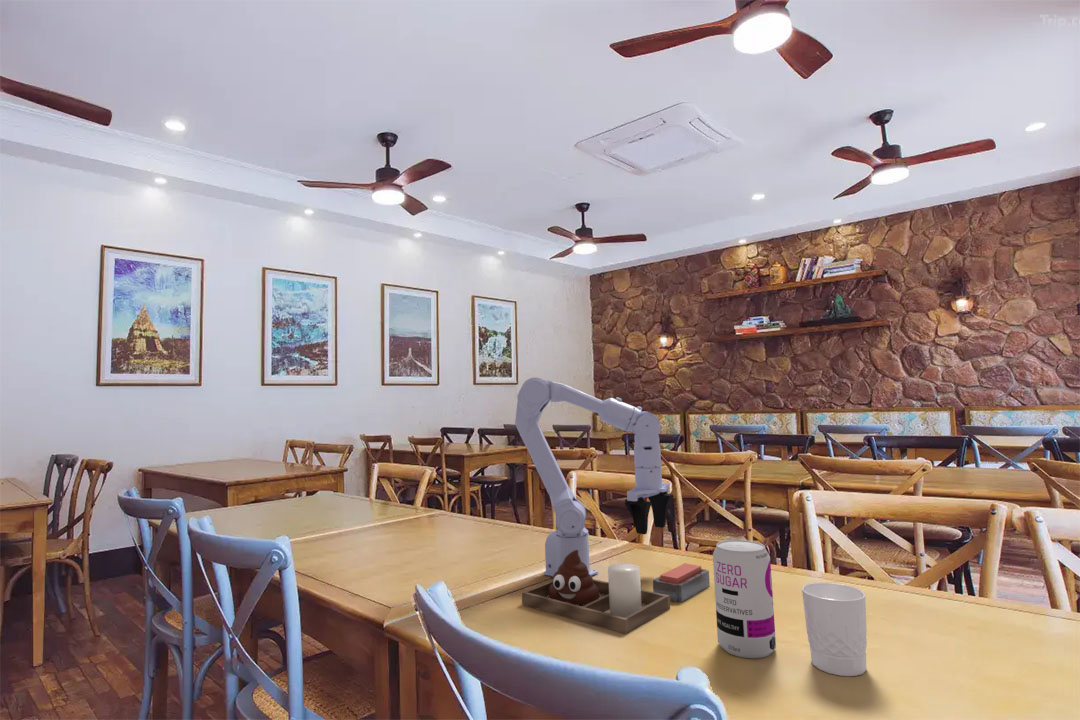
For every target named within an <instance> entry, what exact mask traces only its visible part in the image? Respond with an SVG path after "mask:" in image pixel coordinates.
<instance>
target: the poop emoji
mask: <svg viewBox="0 0 1080 720" xmlns="http://www.w3.org/2000/svg"><path fill="white" fill-rule="evenodd" d="M593 579H594V578H593V575H592V576H591V575H590V574H589V571H588V569H587V566H586V565H585V564H584V563H583V562H581V559H580V557H579V555H578V550H575V551H573V552H571V553H570V554H568V555H567V556H566V557H565V559H564V561H563V563H562V564H561V565H560V566H559V568H558V571H557V572H555V574H554V575H553V577H552V580H551V581H552V582H553V584H551V586H550V587H549V590H548V595H549V596H548V598H551V599H555V600H559V601H562V602H566V603H570V604H574V605H578V606H584V605H586V604H588V603H590V602H593V601H595V600H597V599H599V598H600V594H601V593H599V589H598V587H597V586H596V585H595V584H594V583H593Z"/></svg>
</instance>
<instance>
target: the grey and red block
mask: <svg viewBox="0 0 1080 720" xmlns="http://www.w3.org/2000/svg"><path fill="white" fill-rule="evenodd" d="M701 571H702V572H700V573H699V574H697V575H695V576H693V577H691V578H689V579H687V580H685V581H683V582H682V583H680V584H675V583H670V582H665V581H660V576H658V577H655V578H654V579H652V588H653V589H652V590H653V591H652V592H655V593H660V594H664V595H669V596H670V602H676V603H678V602H680V603H683V602H685V601H686V600H688V599H690V598H692V597H694V596H696V595H697V594H698V593H700V592H702V591H704V590H706V589H707V588H709V587H710V586H711V585H710V584H711V583H710V571H709V570H707V569H704V568H701Z"/></svg>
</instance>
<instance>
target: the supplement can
mask: <svg viewBox="0 0 1080 720" xmlns="http://www.w3.org/2000/svg"><path fill="white" fill-rule="evenodd" d="M712 564H713V579H714V580H713V581H714V597H715V600H714V601H715V613H716V614H715V615H716V630H717V631H716V633H717V643H718V644H719V646H720V647H721V648H722V649H723V650H724V651H725V652H726V653H728V654H730V655H733V656H735V657H738V658H745V659H763V658H766V657H769V656H771V654H772V653H773V652H774V651H775V650H776V649H777V642H776V641H777V640H776V624H775V609H774V595H773V579H772V566H771V565H772V564H771V556H770V554H769V552H768V551H767V549H766V545H765V544H763V543H761V542H758V541H751V540H747V541H745V540H727V541H724V540H721V541H719V542H717V543H716V547H715V548H714V551H713V553H712Z"/></svg>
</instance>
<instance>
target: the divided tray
mask: <svg viewBox="0 0 1080 720" xmlns="http://www.w3.org/2000/svg"><path fill="white" fill-rule="evenodd" d="M593 583H594V584H595V585H596V586H597V587H598V589H599V593H600V594H601V595H603V596H601V597H599V598H598V599H597V600H595V601H593V602H590V603H588V604H586V605H583V606H580V605H574V604H570V603H568V602H562V601H559V600H555V599H551V598H549V595H548V590H549V587H550V586H551V584H553V582H552V580H551V581H548V582H545V583H543V584H541V585H538V586H535V587H532V588H530V589H528V590H527V589H526V590H525V591H523V592H521V605H522V606H525V607H526V606H527V607H528V608H533V609H537V610H539V611H540V610H541V611H542V612H543V611H544V612H548V613H550V614H553V615H554V614H555V615H558V616H562V617H565V618H569V619H572V620H575V621H580V622H583V623H587V624H589V625H593V626H597V627H600V628H604V629H607V630H610V631H614V632H617V633H622V634H625V635H627V634H629V633H631V632H632V631H633V630H635V629H637V628H639V627H640V626H642V625H644V624H646V623H647V622H649V621H650V620H653V619H654V618H655V617H657V616H659V615H661V614H663V613H665V612H666V611H668V610H670V609H671V601H670V596H669V595H664V594H660V593H655V592H653V591H650V590H644V589H641V603H642V604H644V606H643V607H642V608H641V609H639V610H637V611H635V612H634V613H632V614H630V615H628V616H626V617H620V616H616V615H612V614H610V612H609V613H608V612H605V611H607V610H610V604H609V581H603V580H600V579H594V578H593Z"/></svg>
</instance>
